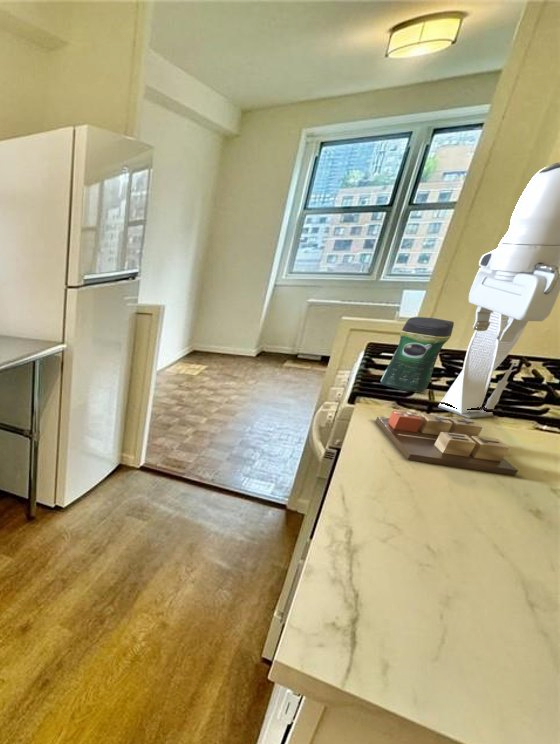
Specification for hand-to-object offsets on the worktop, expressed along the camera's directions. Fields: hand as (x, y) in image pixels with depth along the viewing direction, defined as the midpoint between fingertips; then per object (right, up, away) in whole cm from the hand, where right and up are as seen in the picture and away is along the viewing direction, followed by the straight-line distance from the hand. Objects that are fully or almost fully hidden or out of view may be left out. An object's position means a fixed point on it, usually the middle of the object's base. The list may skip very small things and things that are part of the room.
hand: (490, 335), depth 95 cm
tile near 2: (-4, -19, +8) cm, 21 cm away
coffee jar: (+15, -6, +36) cm, 40 cm away
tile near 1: (0, -19, +6) cm, 21 cm away
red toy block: (-9, -18, +10) cm, 22 cm away
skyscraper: (+16, -13, +22) cm, 30 cm away
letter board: (-6, -22, +5) cm, 23 cm away
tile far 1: (-4, -24, -2) cm, 24 cm away
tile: (-8, -23, 0) cm, 24 cm away
